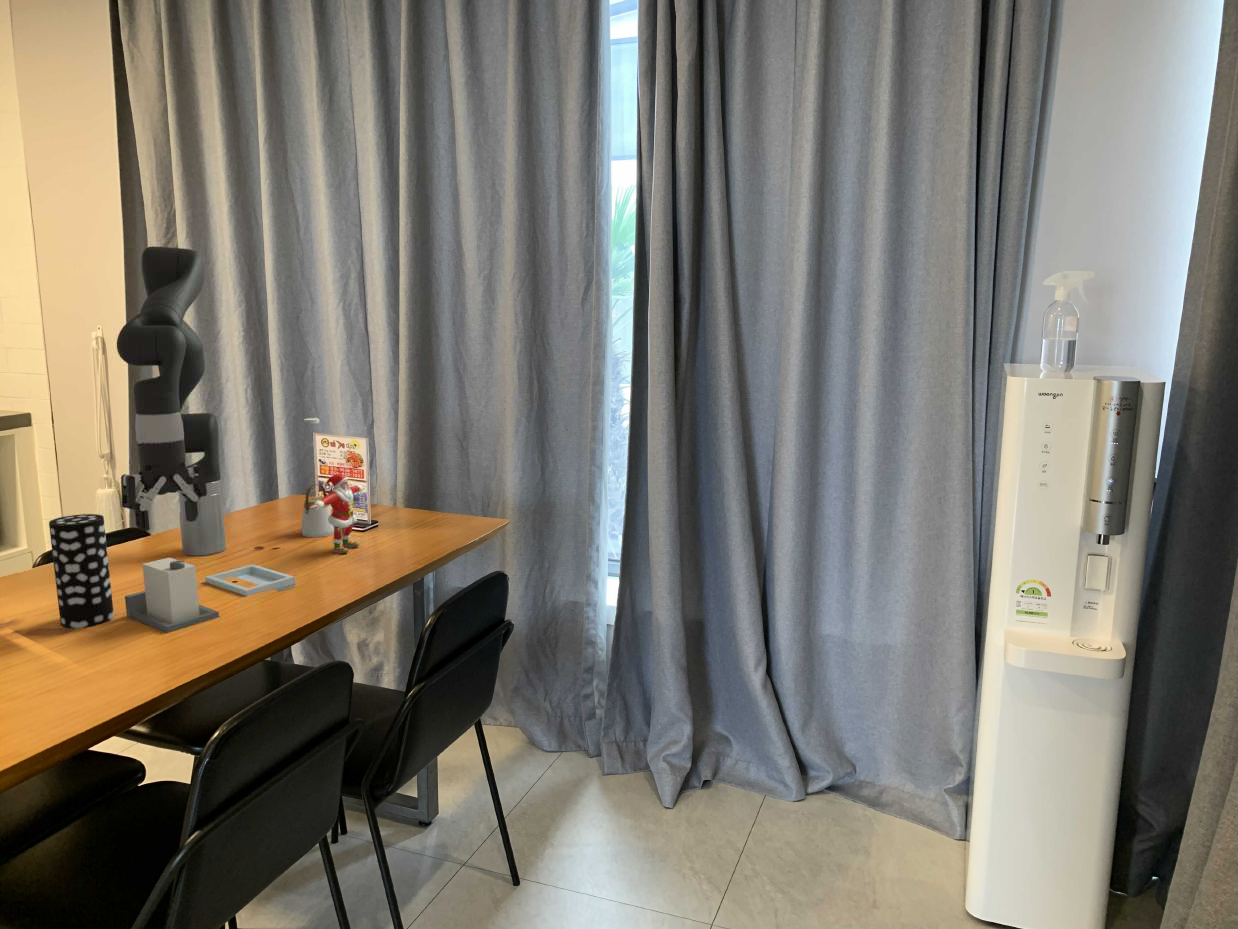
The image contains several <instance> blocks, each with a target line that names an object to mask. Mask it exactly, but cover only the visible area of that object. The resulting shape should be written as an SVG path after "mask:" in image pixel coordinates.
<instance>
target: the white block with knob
mask: <svg viewBox="0 0 1238 929" xmlns="http://www.w3.org/2000/svg"><path fill="white" fill-rule="evenodd" d="M196 568H197V566H196V565H193V564H191V563H187V562H185V561H184V560H178V559H175V558H173V557H166V558H162V559H158V560H154V561H149V562H145V563H142V572H143V573H142V574H143V575H142V576H143V582H144V583H143V585H144V591H145V595H146V606H147V615H148V616H150V617H153V618H155V619H158V620H160V621H163V622H165V623H168V624H171V623H175V622H178V621H181V620H185V619H188V618H191V617H195V616H198V615H199V605H200V604H199V593H198V583H197V582H198V580H197V579H198V578H197V570H196Z"/></svg>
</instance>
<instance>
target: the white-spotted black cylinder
mask: <svg viewBox="0 0 1238 929" xmlns="http://www.w3.org/2000/svg"><path fill="white" fill-rule="evenodd" d="M104 519H105V516H104V515H102V514H97V513H96V514H95V513H86V514H85V513H83V514H81V513H80V514H72V515H66V516H61V517H57V518H53V519H52V520H50V521H48V526H49V534H50V535H49V536H50V543H51V553H52V560H53V568H54V569H53V570H54V577H55V578H54V579H55V586H56V594H57V604H58V612H59V613H58V614H59V620H60V621H59V622H60V623H59V624H60V626H61V628H62V627H63V628H66V629H82V628H83V629H84V628H85V629H86V628H90V627H96V626H99V625H102V624H105V623H107V622H110V621H112V619H114V617H115V614H114V605H113V594H112V585H111V584H112V583H111V574H110V567H109V566H110V565H109V564H110V563H109V556H108V555H109V554H108V547H107V537H106V527H105V520H104Z"/></svg>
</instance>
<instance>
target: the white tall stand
mask: <svg viewBox="0 0 1238 929" xmlns="http://www.w3.org/2000/svg"><path fill="white" fill-rule="evenodd" d="M303 422H304V424H308V425H309V424H311V425H314V424H319V423H320V418H316V417H313V418H304V419H303ZM313 434H314V433H313V430H311V437H312V438H311V439H312V440H311V441H314V435H313ZM312 453H313V459H315V452H314V447H312ZM315 468H316V467H315V464H313V472H314V473H313V474H314V476H316V471H315ZM316 486H319V487H320V489H321V490H322V493H323V494H322V495H323V497H317V496H316V497H312V494H311V493H312V491H313V489H314V488H315V487H316ZM325 496H327V491H326V489H325V486H324V485H321V484H319V483H318V484H317V483H316V482H314V483H313V484H311V485H310V486H309V487H308V488H307V490H306V493H305V500H304V503H303V508H302V509H303V510H302V511H303V512H302V517H301V518H302V519H301V520H302V521H301V527H300V528H301V529H300V531H301V535H302V536H303V537H306V538H321V537H327V536H331V535H332V534H333V535H334V526H333V525H331V524H330V523H329V521H328V517H329V516H330V515H331V514H332V511H331V505H330V504H329V505H325V506H324V507H323V508H321V509H317V510H316V508H314V509H313V508H312V509H311V508H310V507H311V506H312V505H314V503H315V502H316V501H319V500H320V499H322V498H324V497H325Z"/></svg>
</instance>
